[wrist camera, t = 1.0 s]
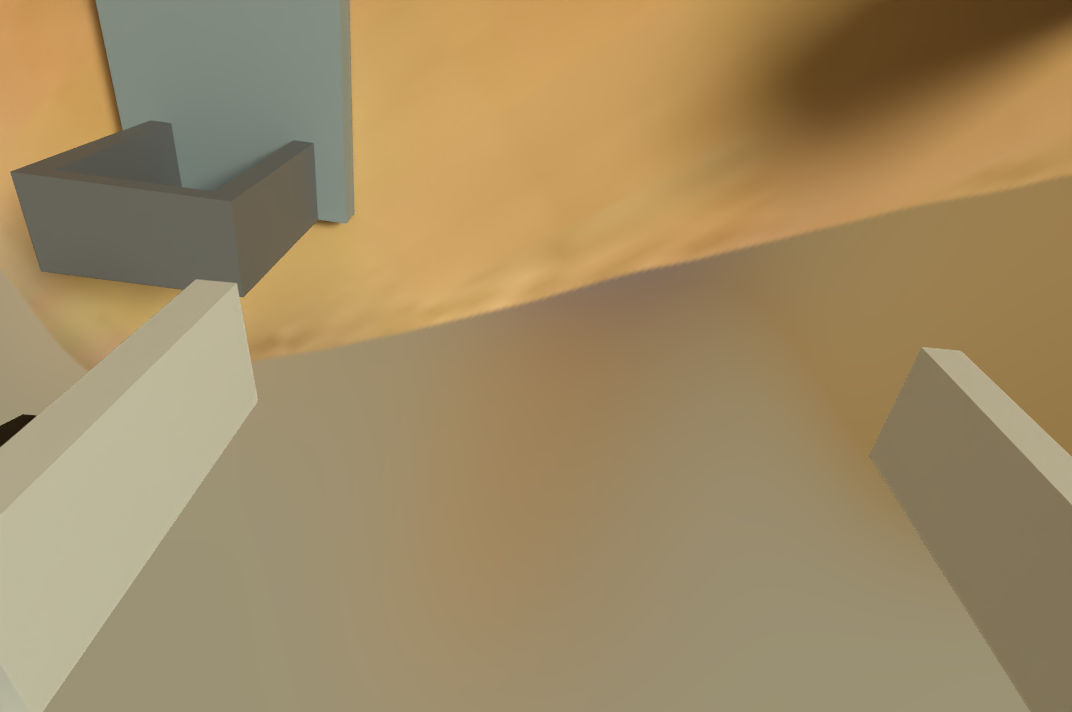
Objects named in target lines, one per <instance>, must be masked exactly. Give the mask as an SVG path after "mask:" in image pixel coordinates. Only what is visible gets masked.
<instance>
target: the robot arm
mask: <svg viewBox="0 0 1072 712" xmlns="http://www.w3.org/2000/svg"><path fill="white" fill-rule="evenodd" d="M257 402H258V397H257V392H256V386H255V381H254V375H253V370H252V364H251V358H250V353H249V347H248V342H247V336H246V331H245V325H244V320H243V314H242V309H241V303H240V297H239V292H238V286H237V283H231V282H220V281H209V280H199V279H196V280H195V281H193V282H192V283H191V284H190V285H189V286H188V287H186V288H185V289H184V290H183V291H182V292H181V293H179V294H178V295H177V296H176V297H175V298H174V299H172V300H171V301H170V302H169V303H168V304H167V305H165V306H164V307H163V308H162V309H161V310H160V311H159V312H157V313H156V314H155V315H154V316H153V317H152V318H150V319H149V320H148V321H147V322H146V323H145V324H143V325H142V326H141V327H140V328H139V329H138V330H136V331H135V332H134V333H133V334H132V335H131V336H129V337H128V338H127V339H126V340H125V341H124V342H122V343H121V344H120V345H119V346H118V347H117V348H115V349H114V350H113V351H112V352H111V353H110V354H108V355H107V356H106V357H105V358H104V359H103V360H101V361H100V362H99V363H98V364H97V365H96V366H95V367H93V368H92V369H91V370H90V371H89V372H88V373H86V374H85V375H84V376H83V377H82V378H81V379H79V380H78V381H77V382H76V383H75V384H74V385H72V386H71V387H70V388H69V389H68V390H67V391H65V393H63V394H62V395H61V396H60V397H59V398H57V399H56V400H55V401H54V402H53V403H51V404H50V405H49V406H48V407H47V408H46V409H45V410H43V411H42V412H41V413H40V414H39V415H37V416H35V415H24V414H23V415H21V416H19V417H17V418H15V419H13V420H11V421H9V422H7V423H5V424H3V425H1V426H0V712H43V710H44V709H45V707H46V706H47V705H48V703H49V702H50V700H51V699H52V697H53V696H54V694H55V693H56V692H57V690H58V689H59V687H60V686H61V684H62V683H63V681H64V680H65V679H66V677H67V676H68V674H69V673H70V671H71V670H72V669H73V667H74V666H75V664H76V663H77V661H78V660H79V659H80V657H81V656H82V654H83V653H84V651H85V650H86V648H87V647H88V646H89V644H90V643H91V641H92V640H93V638H94V637H95V635H96V634H97V633H98V631H99V630H100V628H101V627H102V625H103V624H104V622H105V621H106V620H107V618H108V617H109V615H110V614H111V612H112V611H113V610H114V608H115V607H116V605H117V603H118V602H119V601H120V599H121V598H122V596H123V595H124V594H125V592H126V591H127V589H128V588H129V586H130V585H131V583H132V582H133V581H134V579H135V578H136V576H137V575H138V574H139V572H140V570H141V569H142V568H143V566H144V565H145V563H146V562H147V561H148V559H149V558H150V556H151V555H152V553H153V552H154V550H155V549H156V547H157V546H158V545H159V543H160V542H161V540H162V539H163V537H164V536H165V534H166V533H167V532H168V530H169V529H170V527H171V526H172V525H173V523H174V522H175V520H176V519H177V517H178V516H179V514H180V513H181V512H182V510H183V509H184V507H185V506H186V504H187V503H188V501H189V500H190V498H191V497H192V496H193V494H194V493H195V491H196V490H197V489H198V487H199V485H200V484H201V483H202V481H203V480H204V478H205V477H206V475H207V474H208V473H209V471H210V470H211V468H212V467H213V465H214V464H215V463H216V461H217V460H218V458H219V457H220V455H221V454H222V452H223V451H224V450H225V448H226V447H227V445H228V444H229V442H230V441H231V439H232V438H233V437H234V435H235V434H236V432H237V431H238V429H239V428H240V427H241V425H242V424H243V422H244V421H245V419H246V418H247V416H248V415H249V413H250V412H251V411H252V409H253V408H254V406H255V405H256V404H257ZM869 457H870V458H871V460H872V461H873V463H874V465H875V466H876V468H877V469H878V471H879V472H880V474H881V476H882V477H883V479H884V481H885V482H886V484H887V485H888V487H889V489H890V490H891V492H892V493H893V495H894V496H895V498H896V500H897V501H898V503H899V504H900V506H901V507H902V509H903V511H904V512H905V514H906V515H907V517H908V518H909V520H910V522H911V523H912V525H913V526H914V528H915V530H916V531H917V533H918V534H919V536H920V538H921V539H922V541H923V542H924V544H925V545H926V547H927V548H928V550H929V552H930V553H931V555H932V557H933V558H934V559H935V561H936V563H937V564H938V566H939V567H940V569H941V571H942V572H943V574H944V576H945V577H946V578H947V580H948V582H949V583H950V585H951V586H952V588H953V590H954V591H955V593H956V595H957V596H958V598H959V599H960V601H961V602H962V604H963V605H964V607H965V609H966V610H967V612H968V613H969V615H970V617H971V618H972V620H973V621H974V623H975V625H976V626H977V628H978V629H979V631H980V632H981V634H982V636H983V637H984V639H985V640H986V642H987V644H988V645H989V647H990V648H991V650H992V651H993V653H994V655H995V656H996V658H997V659H998V661H999V663H1000V664H1001V666H1002V667H1003V669H1004V670H1005V672H1006V674H1007V675H1008V677H1009V678H1010V680H1011V682H1012V683H1013V685H1014V686H1015V688H1016V689H1017V691H1018V693H1019V694H1020V696H1021V697H1022V699H1023V701H1024V702H1025V704H1026V705H1027V707H1028V708H1029V710H1030V712H1072V457H1071V456H1070V455H1069V454H1068V453H1067V452H1066V451H1065V450H1064V449H1063V448H1061V446H1060V445H1059V444H1058V443H1057V442H1055V441H1054V440H1053V439H1052V438H1051V437H1050V436H1049V435H1048V434H1047V433H1046V432H1045V431H1044V430H1043V429H1042V428H1041V427H1040V426H1039V425H1038V424H1037V423H1036V422H1035V421H1034V420H1032V419H1031V418H1030V417H1029V416H1028V415H1027V414H1026V413H1025V412H1024V411H1023V410H1022V409H1021V408H1020V407H1019V406H1018V405H1017V404H1016V403H1015V402H1014V401H1013V400H1011V398H1009V397H1008V396H1007V395H1006V394H1005V393H1004V392H1003V391H1002V390H1001V389H1000V388H999V387H998V386H997V385H996V384H995V383H994V382H993V381H992V380H991V379H990V378H989V377H988V376H987V375H985V374H984V373H983V372H982V371H981V370H980V369H979V368H978V367H977V366H976V365H975V364H974V363H973V362H972V361H971V360H970V359H969V358H968V357H967V356H966V355H964V353H962V352H961V351H957V350H946V349H936V348H925V347H922V348H921V350H920V352H919V354H918V356H917V358H916V360H915V362H914V364H913V366H912V368H911V370H910V373H909V375H908V377H907V379H906V381H905V383H904V385H903V387H902V389H901V391H900V393H899V395H898V397H897V399H896V401H895V404H894V406H893V408H892V410H891V412H890V414H889V416H888V418H887V420H886V422H885V424H884V426H883V428H882V430H881V432H880V434H879V437H878V439H877V441H876V443H875V445H874V447H873V449H872V451H871V453H870V455H869Z"/></svg>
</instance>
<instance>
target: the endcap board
mask: <svg viewBox="0 0 1072 712" xmlns="http://www.w3.org/2000/svg"><path fill="white" fill-rule="evenodd" d="M95 1H96V5H97V10H98V15H99V20H100V24H101V29H102V34H103V39H104V44H105V48H106V53H107V58H108V63H109V68H110V72H111V77H112V82H113V87H114V92H115V96H116V101H117V106H118V111H119V116H120V120H121V125H122V130H123V131H120V132H117V133H115V134H112V135H109V136H106V137H104V138H101V139H98V140H96V141H93V142H90V143H87V144H85V145H82V146H79V147H76V148H74V149H71V150H68V151H66V152H63V153H60V154H57V155H55V156H52V157H49V158H47V159H44V160H41V161H38V162H36V163H33V164H30V165H27V166H25V167H22V168H19V169H17V170H14V171H11V176H12V179H13V182H14V185H15V189H16V192H17V195H18V198H19V202H20V205H21V208H22V211H23V214H24V218H25V221H26V224H27V227H28V231H29V234H30V237H31V240H32V243H33V247H34V250H35V253H36V256H37V260H38V263H39V266H40V269H41V271H42V272H50V273H57V274H65V275H73V276H81V277H89V278H96V279H104V280H112V281H120V282H128V283H135V284H143V285H151V286H159V287H166V288H174V289H182V290H184V289H185V288H186V287H188V286H189V285H190V284H191V283H192V282H193V281H195V280H196V279H199V280H209V281H220V282H231V283H237V286H238V292H239V297H244V296H245V295H246V294H247V293H248V292H249V291H250V290H251V289H252V288H253V287H254V286H255V285H256V284H257V283H258V282H259V281H260V280H261V278H262V277H263V276H264V275H265V274H266V273H267V272H268V271H269V270H270V269H271V268H272V267H273V266H274V265H275V264H276V263H277V262H278V261H279V260H280V259H281V258H282V257H283V256H284V255H285V254H286V253H287V251H288V250H289V249H290V248H291V247H292V246H293V245H294V244H295V243H296V242H297V241H298V240H299V239H300V238H301V237H302V236H303V235H304V234H305V233H306V232H307V231H308V230H309V229H310V228H311V227H312V226H313V224H314V223H315V222H316V221H317V220H324V221H331V222H339V223H347V222H348V221H349V220H350V219H351V217H352V216H353V215H354V185H353V142H352V98H351V55H350V12H349V0H95Z"/></svg>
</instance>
